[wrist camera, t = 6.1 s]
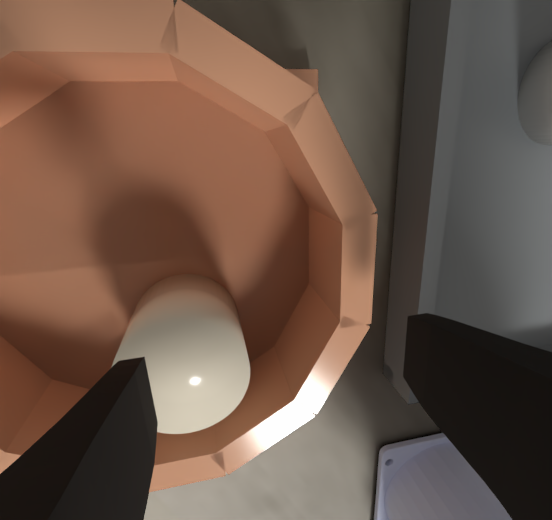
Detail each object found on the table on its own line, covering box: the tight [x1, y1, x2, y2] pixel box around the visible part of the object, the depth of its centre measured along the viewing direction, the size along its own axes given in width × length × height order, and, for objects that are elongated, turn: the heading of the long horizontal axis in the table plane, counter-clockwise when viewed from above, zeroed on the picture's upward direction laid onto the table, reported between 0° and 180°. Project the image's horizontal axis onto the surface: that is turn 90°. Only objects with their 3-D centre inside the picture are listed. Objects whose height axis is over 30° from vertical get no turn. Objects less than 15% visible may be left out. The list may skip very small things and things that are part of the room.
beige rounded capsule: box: [112, 274, 250, 434], centre depth 13 cm, size 4×4×4 cm
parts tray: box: [383, 0, 552, 405], centre depth 16 cm, size 20×14×2 cm
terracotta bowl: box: [0, 0, 378, 492], centre depth 12 cm, size 20×20×4 cm
